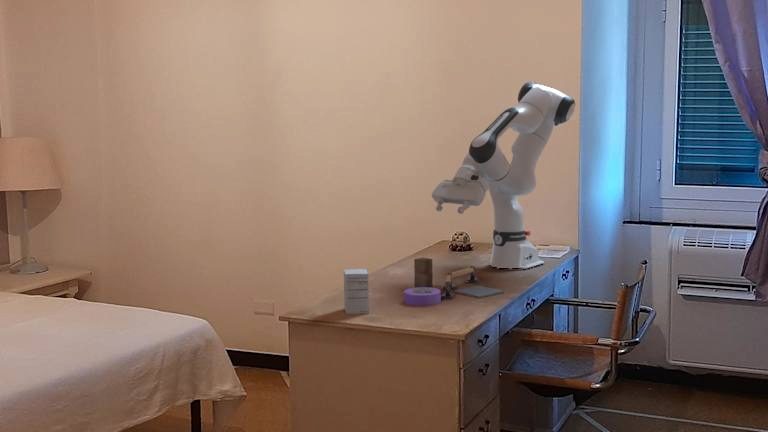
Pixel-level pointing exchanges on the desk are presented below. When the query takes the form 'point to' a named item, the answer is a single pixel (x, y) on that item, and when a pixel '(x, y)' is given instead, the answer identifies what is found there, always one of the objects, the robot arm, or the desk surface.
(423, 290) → the masking tape
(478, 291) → the slate pad
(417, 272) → the tan stacked post
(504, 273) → the desk surface
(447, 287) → the hinged wooden linkage
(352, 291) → the supplement box
